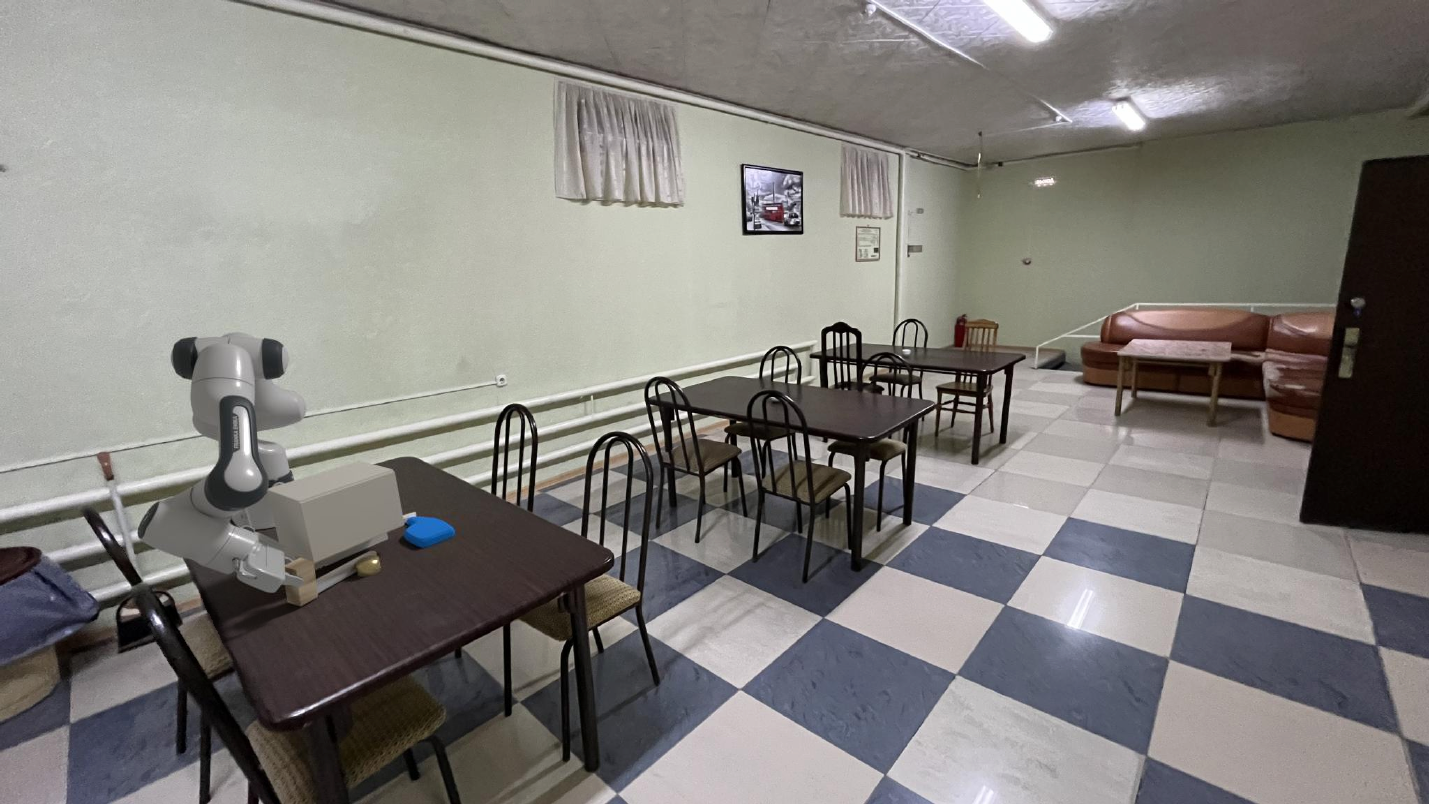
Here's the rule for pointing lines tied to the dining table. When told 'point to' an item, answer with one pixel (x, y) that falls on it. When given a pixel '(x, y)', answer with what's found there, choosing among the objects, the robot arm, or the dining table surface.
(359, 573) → the brass puck
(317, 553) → the cabinet
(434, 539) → the spray bottle
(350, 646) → the dining table surface
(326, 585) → the wooden handled saw
